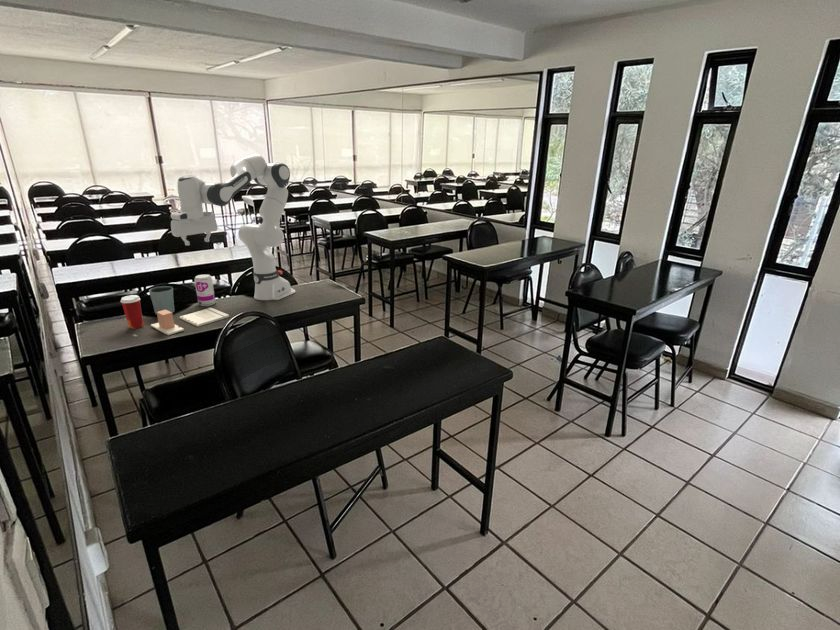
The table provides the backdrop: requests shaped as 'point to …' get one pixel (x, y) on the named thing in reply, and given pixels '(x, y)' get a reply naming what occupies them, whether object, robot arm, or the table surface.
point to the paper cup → (132, 311)
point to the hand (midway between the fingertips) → (197, 243)
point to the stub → (166, 323)
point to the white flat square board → (204, 317)
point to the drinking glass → (162, 298)
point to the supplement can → (204, 290)
